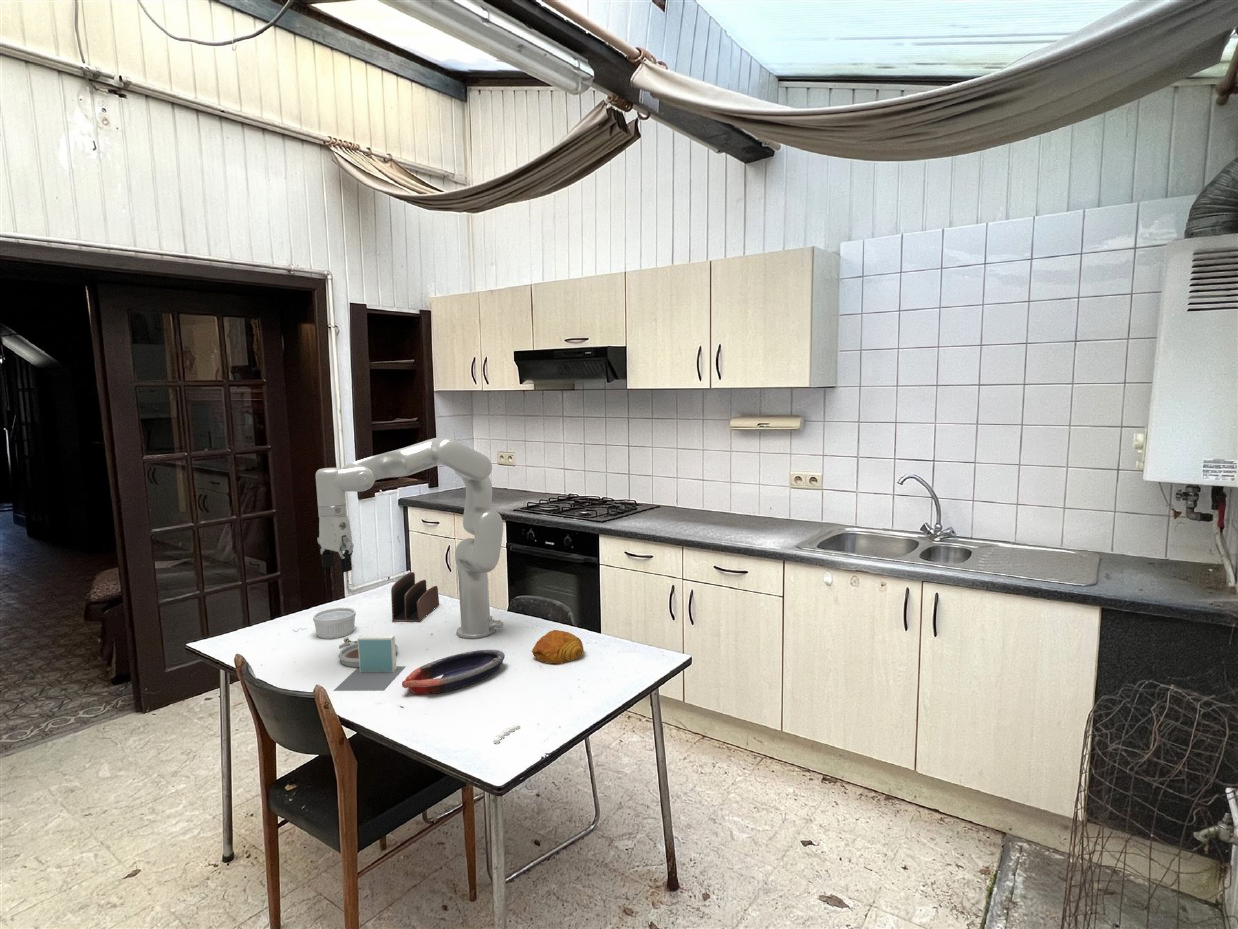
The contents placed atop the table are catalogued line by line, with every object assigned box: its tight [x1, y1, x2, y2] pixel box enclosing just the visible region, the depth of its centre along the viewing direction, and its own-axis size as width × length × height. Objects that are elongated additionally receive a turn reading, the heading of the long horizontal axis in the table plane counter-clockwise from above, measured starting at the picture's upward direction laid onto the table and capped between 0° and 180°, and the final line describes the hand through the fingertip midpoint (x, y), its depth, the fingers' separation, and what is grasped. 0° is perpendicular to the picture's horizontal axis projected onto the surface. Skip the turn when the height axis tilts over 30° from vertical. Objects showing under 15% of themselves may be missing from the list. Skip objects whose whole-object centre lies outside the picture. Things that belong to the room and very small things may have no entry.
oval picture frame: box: [338, 636, 399, 668], centre depth 208 cm, size 17×3×28 cm
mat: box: [332, 665, 407, 692], centre depth 189 cm, size 14×16×1 cm
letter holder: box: [390, 572, 440, 623], centre depth 245 cm, size 10×20×14 cm, turn 175°
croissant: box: [531, 629, 584, 665], centre depth 203 cm, size 14×16×8 cm
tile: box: [356, 635, 397, 672], centre depth 193 cm, size 10×2×10 cm, turn 87°
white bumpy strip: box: [492, 723, 521, 744], centre depth 156 cm, size 15×4×2 cm, turn 149°
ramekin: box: [312, 607, 356, 640], centre depth 227 cm, size 13×13×7 cm
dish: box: [401, 649, 506, 695], centre depth 187 cm, size 16×31×5 cm, turn 130°
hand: (337, 569), depth 195 cm, fingers open, 9 cm apart
